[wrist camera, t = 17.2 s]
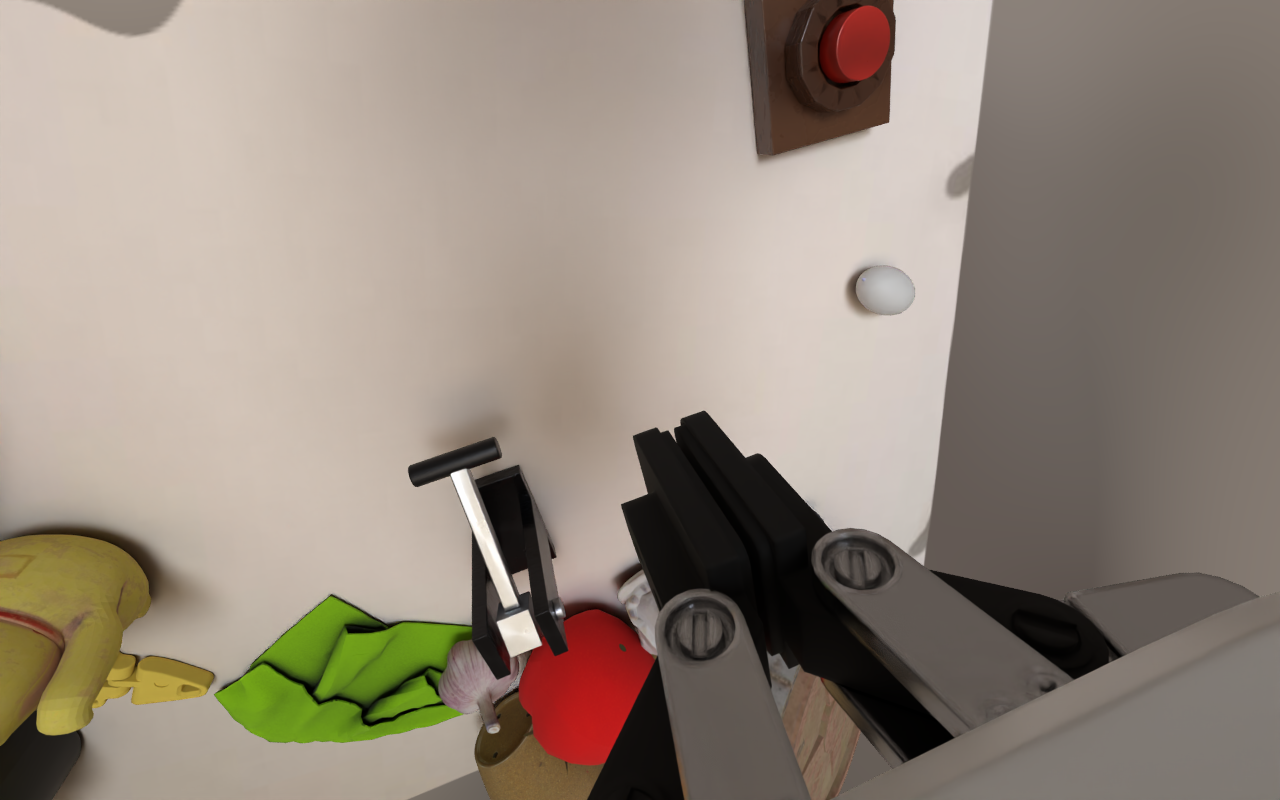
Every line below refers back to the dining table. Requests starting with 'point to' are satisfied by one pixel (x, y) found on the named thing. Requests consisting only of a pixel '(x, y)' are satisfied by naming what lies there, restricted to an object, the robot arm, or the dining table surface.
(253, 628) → the dining table surface
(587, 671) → the tomato
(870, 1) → the button block
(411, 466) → the lever
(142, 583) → the figurine
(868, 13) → the button
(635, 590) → the seashell
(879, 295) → the egg
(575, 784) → the plant pot
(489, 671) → the garlic bulb
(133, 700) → the toy
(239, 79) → the dining table surface
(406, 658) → the cloth
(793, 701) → the landmine
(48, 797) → the mug
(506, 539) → the bracket
